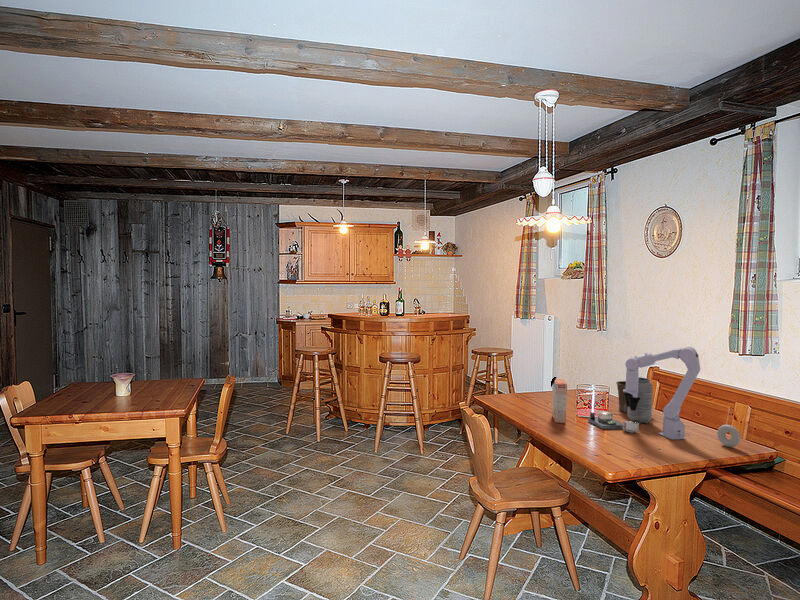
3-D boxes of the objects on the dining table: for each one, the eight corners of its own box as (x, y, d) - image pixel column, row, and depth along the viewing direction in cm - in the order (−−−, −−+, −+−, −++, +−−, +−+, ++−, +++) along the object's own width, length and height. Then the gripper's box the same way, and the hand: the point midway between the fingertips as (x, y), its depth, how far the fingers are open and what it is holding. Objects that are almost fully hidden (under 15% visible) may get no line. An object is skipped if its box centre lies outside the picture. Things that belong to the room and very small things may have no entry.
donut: (741, 449, 225) (742, 427, 224) (736, 450, 223) (737, 428, 223) (719, 442, 234) (720, 421, 233) (714, 443, 232) (715, 422, 232)
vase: (646, 418, 273) (647, 377, 272) (655, 425, 261) (656, 381, 260) (624, 418, 274) (625, 376, 273) (631, 424, 263) (633, 380, 262)
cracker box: (566, 423, 261) (567, 384, 260) (554, 423, 262) (555, 383, 262) (563, 416, 275) (564, 378, 274) (551, 416, 276) (552, 378, 275)
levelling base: (624, 428, 254) (625, 417, 253) (602, 429, 252) (602, 417, 252) (609, 421, 267) (609, 410, 267) (588, 421, 266) (588, 410, 265)
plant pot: (620, 406, 300) (620, 379, 299) (649, 411, 290) (650, 383, 289) (611, 411, 287) (612, 383, 287) (642, 416, 277) (643, 387, 277)
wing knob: (638, 431, 249) (639, 421, 249) (637, 433, 245) (638, 423, 245) (623, 428, 253) (623, 419, 252) (622, 431, 248) (622, 421, 248)
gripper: (620, 378, 261) (619, 404, 262) (627, 384, 247) (626, 411, 247) (634, 379, 260) (634, 405, 260) (642, 385, 245) (641, 412, 246)
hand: (631, 408), depth 254 cm, fingers open, 7 cm apart
